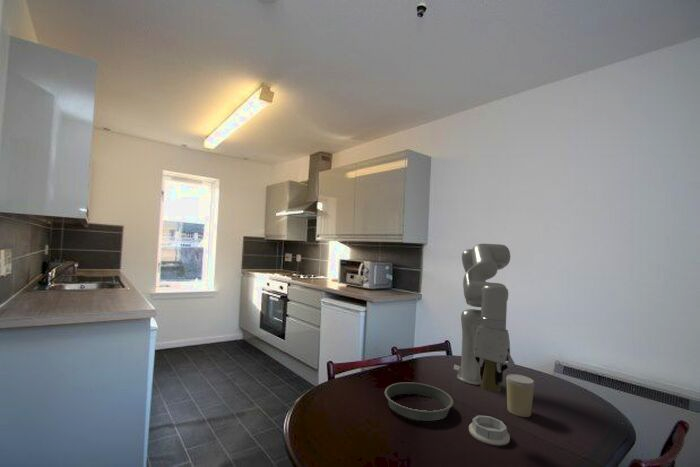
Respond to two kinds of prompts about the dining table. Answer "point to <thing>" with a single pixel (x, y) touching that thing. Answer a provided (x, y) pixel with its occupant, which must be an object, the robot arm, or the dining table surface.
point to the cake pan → (421, 390)
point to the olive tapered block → (490, 377)
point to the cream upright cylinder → (519, 395)
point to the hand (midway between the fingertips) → (490, 380)
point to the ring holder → (489, 430)
